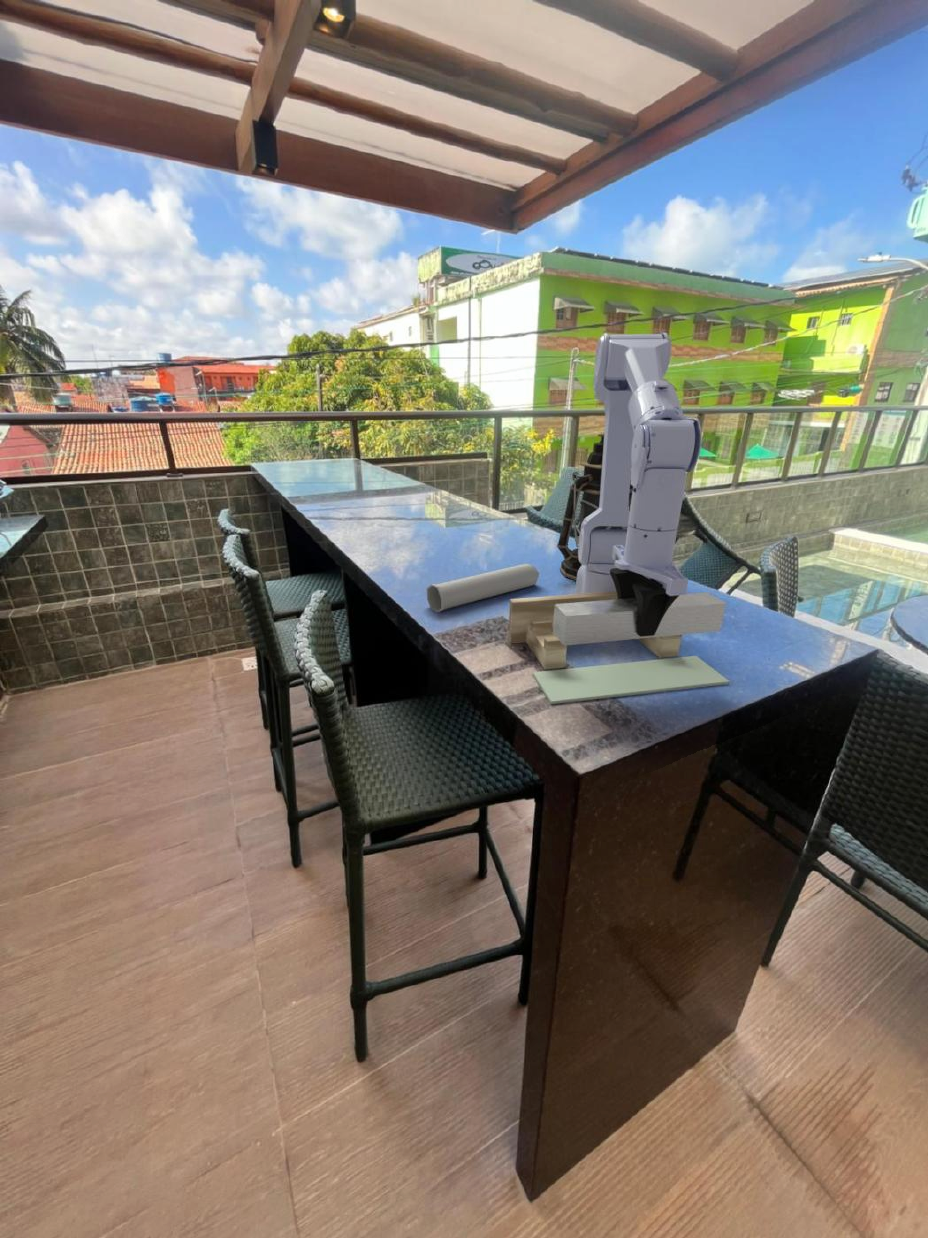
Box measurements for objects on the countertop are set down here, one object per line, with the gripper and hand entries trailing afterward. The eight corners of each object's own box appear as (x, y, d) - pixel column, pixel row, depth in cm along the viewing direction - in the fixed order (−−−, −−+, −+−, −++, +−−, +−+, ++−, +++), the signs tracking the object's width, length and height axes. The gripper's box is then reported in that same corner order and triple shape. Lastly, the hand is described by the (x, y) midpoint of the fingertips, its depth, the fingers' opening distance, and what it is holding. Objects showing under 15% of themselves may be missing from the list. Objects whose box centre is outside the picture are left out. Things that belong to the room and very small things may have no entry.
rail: (552, 632, 67) (554, 604, 65) (701, 619, 71) (707, 592, 69) (563, 645, 63) (566, 616, 62) (720, 631, 67) (726, 603, 66)
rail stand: (508, 639, 81) (510, 599, 79) (655, 626, 86) (662, 587, 83) (528, 671, 72) (531, 626, 69) (692, 654, 77) (701, 612, 74)
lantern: (613, 558, 121) (630, 425, 109) (657, 579, 108) (681, 429, 96) (538, 567, 116) (547, 427, 103) (574, 590, 102) (589, 432, 90)
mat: (532, 674, 71) (532, 672, 71) (695, 658, 76) (695, 655, 75) (551, 704, 64) (551, 701, 64) (728, 683, 69) (729, 681, 69)
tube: (523, 561, 107) (423, 584, 93) (541, 559, 103) (439, 583, 89) (528, 586, 108) (429, 612, 94) (545, 585, 103) (444, 613, 90)
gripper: (596, 514, 67) (586, 608, 73) (654, 543, 54) (636, 655, 60) (644, 512, 68) (631, 605, 74) (713, 539, 55) (690, 650, 61)
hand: (636, 627), depth 67 cm, fingers closed on rail, 4 cm apart
